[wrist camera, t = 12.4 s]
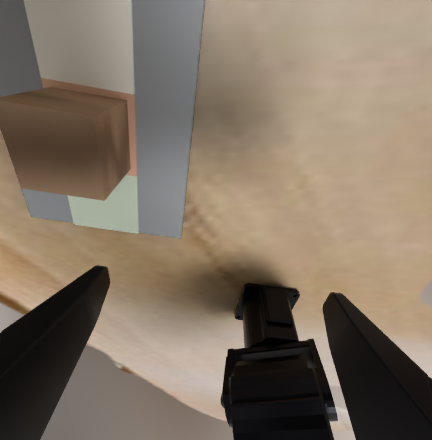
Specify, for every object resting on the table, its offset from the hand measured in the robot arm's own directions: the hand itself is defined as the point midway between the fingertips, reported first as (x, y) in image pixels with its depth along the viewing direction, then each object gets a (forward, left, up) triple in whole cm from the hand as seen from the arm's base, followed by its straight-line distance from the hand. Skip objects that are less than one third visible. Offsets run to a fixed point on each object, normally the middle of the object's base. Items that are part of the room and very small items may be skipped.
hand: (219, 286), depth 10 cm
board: (+1, +10, -12) cm, 16 cm away
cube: (+2, +10, -11) cm, 15 cm away
